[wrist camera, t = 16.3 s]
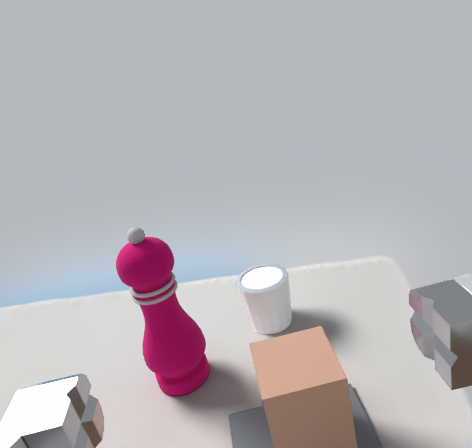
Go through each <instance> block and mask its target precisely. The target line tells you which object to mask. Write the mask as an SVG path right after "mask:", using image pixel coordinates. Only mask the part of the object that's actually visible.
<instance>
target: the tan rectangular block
mask: <svg viewBox="0 0 472 448" xmlns="http://www.w3.org/2000/svg"><path fill="white" fill-rule="evenodd" d="M250 348H251V353H252V357H253V362H254V367H255V371H256V376H257V380H258V385H259V389H260V394H261V398H262V402H263V406H264V410H265V414H266V418H267V421H268V425H269V429H270V433H271V437H272V441H273V445H274V448H357V442H356V435H355V428H354V421H353V415H352V408H351V401H350V394H349V388H348V381H347V377H346V375H345V373H344V371H343V369H342V367H341V365H340V363H339V361H338V359H337V357H336V355H335V353H334V351H333V349H332V347H331V345H330V343H329V341H328V339H327V337H326V335H325V333H324V331H323V329H322V327H321V326H318V327H314V328H310V329H306V330H302V331H298V332H294V333H290V334H286V335H282V336H278V337H274V338H271V339H267V340H263V341H259V342H255V343H251V344H250Z"/></svg>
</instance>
